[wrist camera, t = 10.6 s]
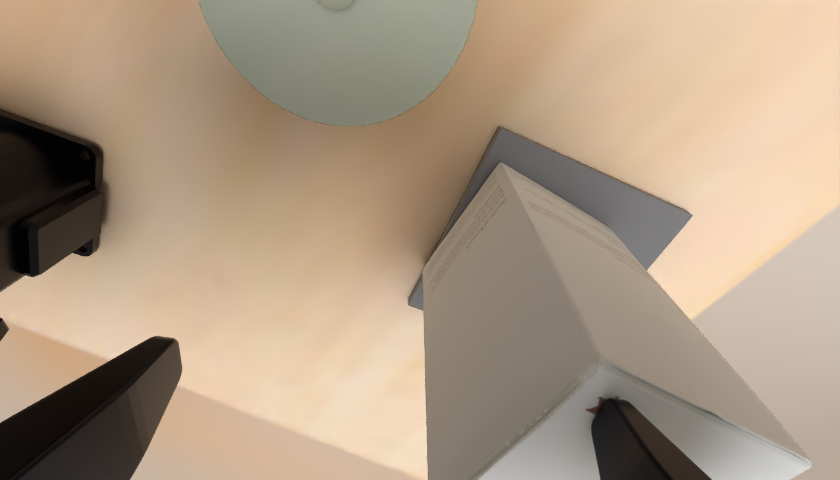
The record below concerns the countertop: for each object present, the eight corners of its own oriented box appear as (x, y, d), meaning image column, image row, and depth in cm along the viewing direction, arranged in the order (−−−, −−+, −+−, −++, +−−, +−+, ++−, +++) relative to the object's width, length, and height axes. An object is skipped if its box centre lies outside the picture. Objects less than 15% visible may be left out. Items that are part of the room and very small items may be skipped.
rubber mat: (408, 299, 24) (408, 305, 23) (499, 126, 19) (501, 128, 18) (567, 354, 26) (570, 360, 25) (687, 211, 21) (692, 215, 20)
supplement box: (417, 269, 22) (415, 525, 11) (500, 156, 19) (610, 355, 8) (525, 323, 24) (613, 588, 13) (615, 229, 21) (833, 471, 10)
